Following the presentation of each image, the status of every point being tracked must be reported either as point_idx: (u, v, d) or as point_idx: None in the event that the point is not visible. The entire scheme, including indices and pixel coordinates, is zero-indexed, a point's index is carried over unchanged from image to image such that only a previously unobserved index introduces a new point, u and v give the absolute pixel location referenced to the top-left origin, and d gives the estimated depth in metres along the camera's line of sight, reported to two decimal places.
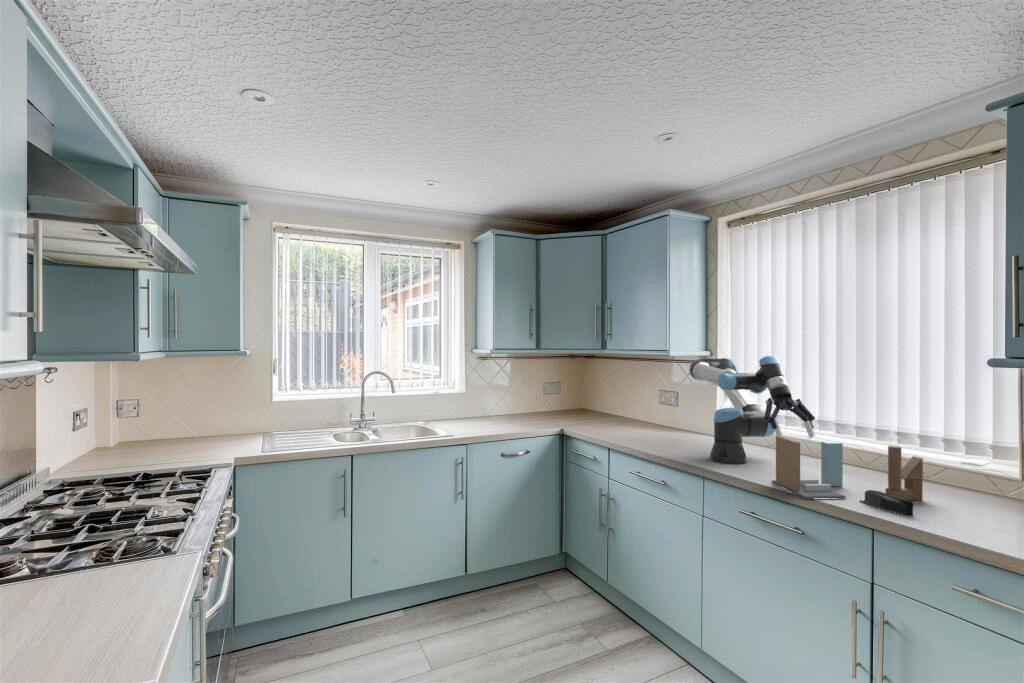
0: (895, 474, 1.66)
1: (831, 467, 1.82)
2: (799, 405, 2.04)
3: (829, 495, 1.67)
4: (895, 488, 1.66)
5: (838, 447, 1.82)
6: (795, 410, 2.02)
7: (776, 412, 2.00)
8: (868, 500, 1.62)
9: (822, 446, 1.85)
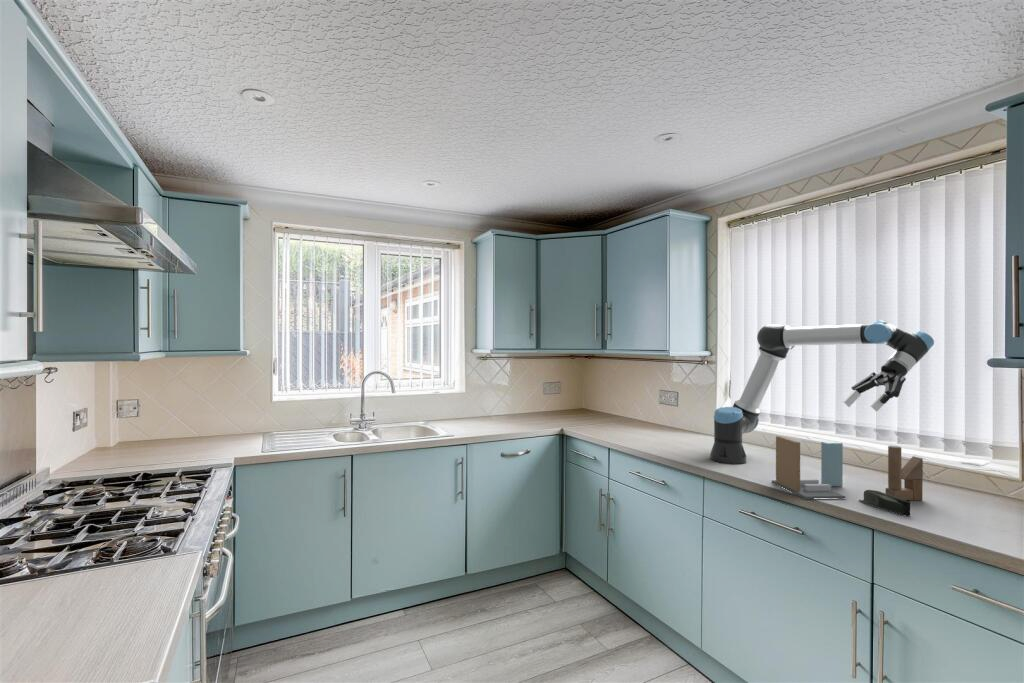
0: (895, 474, 1.66)
1: (831, 467, 1.82)
2: None
3: (829, 495, 1.67)
4: (895, 488, 1.66)
5: (838, 447, 1.82)
6: (873, 385, 1.88)
7: None
8: (867, 499, 1.62)
9: (822, 446, 1.85)
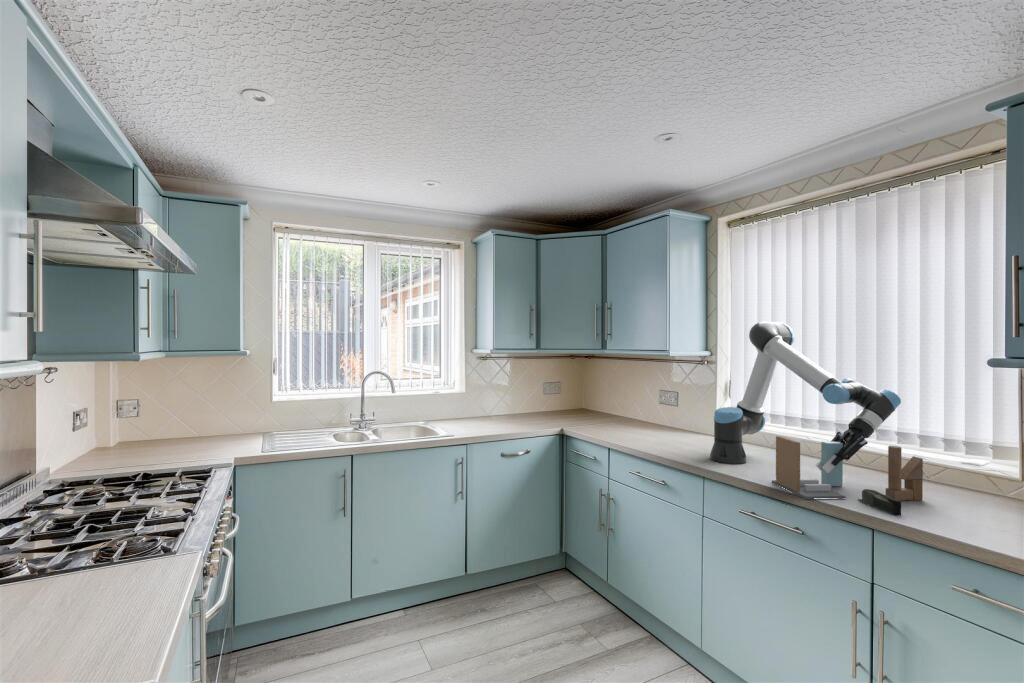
0: (895, 474, 1.66)
1: None
2: None
3: (829, 495, 1.67)
4: (895, 488, 1.66)
5: (838, 447, 1.82)
6: (843, 444, 1.85)
7: None
8: (864, 498, 1.63)
9: (822, 446, 1.85)
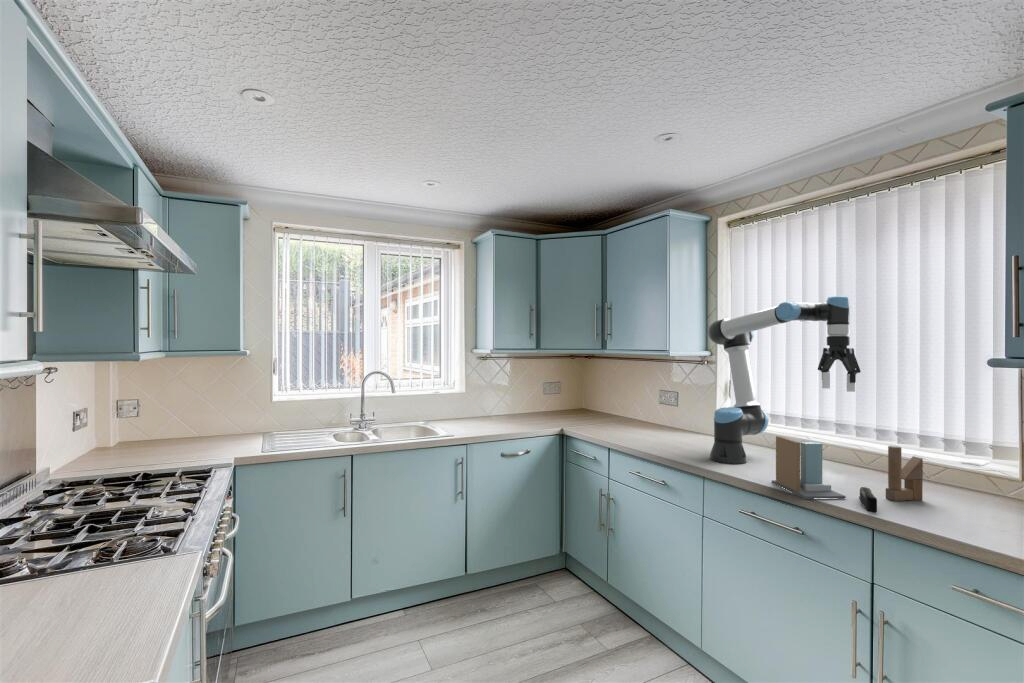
0: (895, 474, 1.66)
1: (811, 469, 1.76)
2: (828, 354, 2.00)
3: (829, 495, 1.67)
4: (895, 488, 1.66)
5: (817, 448, 1.76)
6: (832, 360, 1.97)
7: None
8: None
9: (801, 447, 1.78)
